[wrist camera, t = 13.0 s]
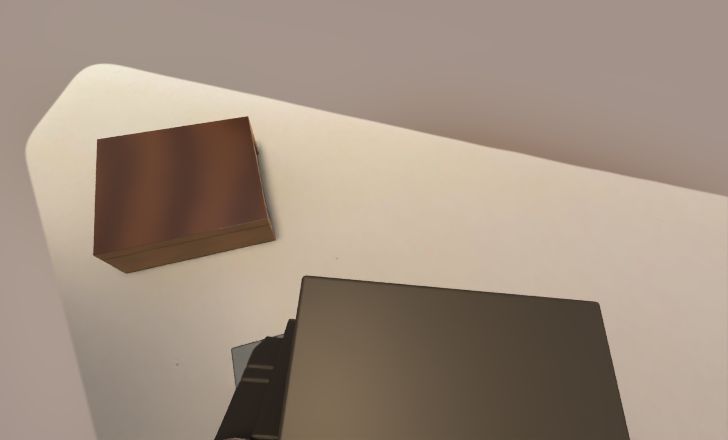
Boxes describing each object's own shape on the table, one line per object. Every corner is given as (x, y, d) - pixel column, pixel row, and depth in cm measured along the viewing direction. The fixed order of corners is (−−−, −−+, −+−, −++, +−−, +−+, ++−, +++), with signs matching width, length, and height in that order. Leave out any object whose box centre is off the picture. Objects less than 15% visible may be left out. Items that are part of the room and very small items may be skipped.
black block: (459, 519, 11) (709, 775, 4) (298, 510, 11) (228, 758, 3) (453, 349, 13) (600, 301, 6) (319, 338, 13) (302, 274, 6)
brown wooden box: (125, 273, 33) (92, 255, 28) (124, 168, 38) (96, 139, 33) (275, 240, 36) (267, 218, 31) (257, 146, 40) (248, 116, 36)
